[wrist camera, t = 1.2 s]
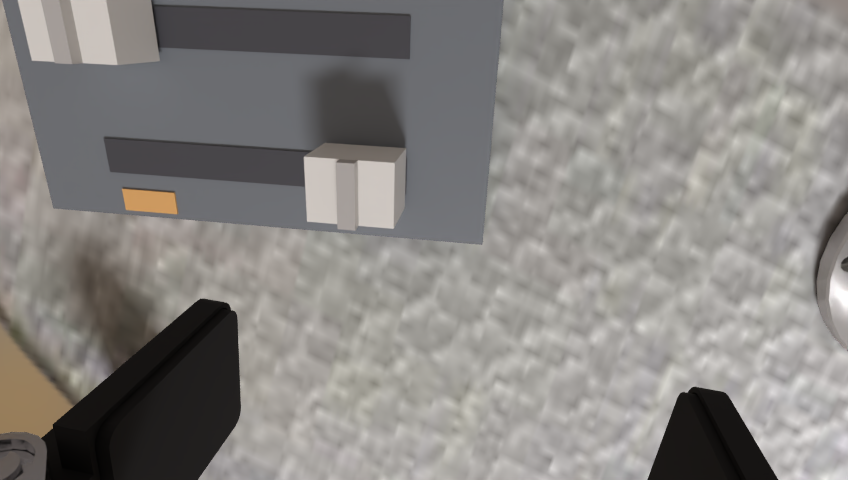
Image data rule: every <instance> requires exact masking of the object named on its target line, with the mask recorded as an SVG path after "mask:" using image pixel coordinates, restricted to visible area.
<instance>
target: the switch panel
mask: <svg viewBox="0 0 848 480" xmlns="http://www.w3.org/2000/svg"><path fill="white" fill-rule="evenodd" d="M2 1H3V5H4V9H5V13H6V17H7V21H8V25H9V29H10V33H11V38H12V42H13V46H14V50H15V54H16V58H17V62H18V66H19V70H20V74H21V78H22V82H23V86H24V90H25V94H26V98H27V102H28V106H29V110H30V115H31V119H32V123H33V127H34V131H35V135H36V139H37V143H38V147H39V151H40V155H41V159H42V163H43V167H44V171H45V175H46V179H47V183H48V188H49V192H50V196H51V200H52V204H53V208H57V209H68V210H80V211H92V212H104V213H116V214H127V215H139V216H151V217H163V218H174V219H186V220H198V221H210V222H222V223H233V224H245V225H257V226H269V227H281V228H292V229H304V230H316V231H328V232H339V233H351V234H363V235H375V236H387V237H398V238H410V239H422V240H434V241H445V242H457V243H469V244H481V245H482V243H483V232H484V220H485V209H486V197H487V186H488V174H489V163H490V151H491V139H492V128H493V116H494V105H495V93H496V82H497V70H498V59H499V47H500V36H501V24H502V13H503V1H504V0H151V4H152V11H153V17H154V24H155V31H156V38H157V44H158V51H159V58H160V61H157V62H146V63H135V64H124V65H106V64H87V63H81V64H60V63H55V62H48V61H32V59H31V55H30V50H29V46H28V42H27V38H26V33H25V29H24V25H23V21H22V17H21V12H20V8H19V4H18V0H2ZM324 143H336V144H351V145H366V146H381V147H397V148H406V177H405V208H404V210H403V212H402V214H401V216H400V218H399V220H398V221H397V223H396V225H395V227H394V229H390V228H378V227H366V226H358V227H357V229H356V230H355V231H353V230H341V229H338V228H337V224H329V223H317V222H307V211H306V192H305V172H304V156H305V155H307V154H309V153H310V152H312V151H313V150H315V149H316V148H318V147H319V146H321V145H322V144H324Z"/></svg>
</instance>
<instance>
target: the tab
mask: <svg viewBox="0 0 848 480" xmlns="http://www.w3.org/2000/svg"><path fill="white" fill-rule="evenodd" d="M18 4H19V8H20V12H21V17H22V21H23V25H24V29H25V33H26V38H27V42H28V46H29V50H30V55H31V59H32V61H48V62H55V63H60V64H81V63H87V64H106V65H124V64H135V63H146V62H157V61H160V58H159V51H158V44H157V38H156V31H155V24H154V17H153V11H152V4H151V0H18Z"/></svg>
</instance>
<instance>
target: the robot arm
mask: <svg viewBox="0 0 848 480" xmlns="http://www.w3.org/2000/svg"><path fill="white" fill-rule="evenodd" d="M817 302H818V306H819V309H820V312H821V315H822V318H823V321H824V323H825V324H826V326H827V328H828V329H829V331H830V332H831V334H832V336H833V337H834V338H835V339H836V340H837V341H838V342H839V343H840V344H841V345H842V346H843V347H844V348H845V349H846V350H847V351H848V213H847V214H846V215H845V216H844V217H843V219H842V220H841V222H840V223H839V225H838V227H837V228H836V230H835V231H834V233H833V234H832V236H831V237H830V239H829V241H828V244H827V246H826V249H825V251H824V253H823V256H822V258H821V261H820V266H819V271H818V277H817ZM240 411H241V401H240V375H239V349H238V323H237V314H236V312H235V311H231V308H230V306H229V304H228V303H225V302H219V301H214V300H208V299H200V300H198V301H197V302H195V303H194V304H193V305H192V306H191V307H190V308H188V309H187V310H186V311H185V312H184V313H183V314H181V315H180V316H179V317H178V318H177V319H176V320H174V321H173V322H172V323H171V324H170V325H169V326H167V327H166V328H165V329H164V330H163V331H162V332H160V333H159V334H158V335H157V336H156V337H155V338H153V339H152V340H151V341H150V342H149V343H147V344H146V345H145V346H144V347H143V348H142V349H140V350H139V351H138V352H137V353H136V354H135V355H133V356H132V357H131V358H130V359H129V360H128V361H126V362H125V363H124V364H123V365H122V366H121V367H119V368H118V369H117V370H116V371H115V372H114V373H112V374H111V375H110V376H109V377H108V378H107V379H105V380H104V381H103V382H102V383H101V384H100V385H98V386H97V387H96V388H95V389H94V390H93V391H91V392H90V393H89V394H88V395H87V396H86V397H84V398H83V399H82V400H81V401H80V402H79V403H77V404H76V405H75V406H74V407H73V408H72V409H70V410H69V411H68V412H67V413H66V414H64V416H62V417H61V418H60V419H59V420H57V422H55V423H54V424H53V429H52V430H50V431H49V432H48V433H47V434H46V435H45V436H44V437H42V438H40V437H39V436H37V435H33V434H30V433H27V432H10V433H5V434H0V480H198V479H199V477H200V476H201V474H202V473H203V471H204V470H205V469H206V467H207V466H208V464H209V463H210V461H211V460H212V459H213V457H214V456H215V454H216V453H217V451H218V450H219V449H220V447H221V446H222V444H223V443H224V441H225V440H226V439H227V437H228V436H229V434H230V433H231V432H232V430H233V429H234V427H235V426H236V424H237V422H238V419H239V416H240ZM648 480H778V479H777V477H776V475H775V474H774V472H773V470H772V469H771V467H770V465H769V464H768V462H767V460H766V459H765V457H764V455H763V454H762V452H761V450H760V448H759V447H758V445H757V443H756V442H755V440H754V438H753V437H752V435H751V433H750V432H749V430H748V428H747V427H746V425H745V423H744V422H743V420H742V418H741V417H740V415H739V413H738V412H737V410H736V408H735V406H734V405H733V403H732V401H731V400H730V398H729V396H728V395H727V394H726V393H724V392H721V391H715V390H710V389H704V388H699V387H692V388H691V389H690V390H689V391H688V393H685V392H682V393H680V395H679V396H678V398H677V401H676V404H675V406H674V409H673V412H672V415H671V417H670V420H669V423H668V425H667V428H666V431H665V434H664V436H663V439H662V442H661V444H660V447H659V450H658V453H657V455H656V458H655V461H654V463H653V466H652V469H651V472H650V474H649V477H648Z"/></svg>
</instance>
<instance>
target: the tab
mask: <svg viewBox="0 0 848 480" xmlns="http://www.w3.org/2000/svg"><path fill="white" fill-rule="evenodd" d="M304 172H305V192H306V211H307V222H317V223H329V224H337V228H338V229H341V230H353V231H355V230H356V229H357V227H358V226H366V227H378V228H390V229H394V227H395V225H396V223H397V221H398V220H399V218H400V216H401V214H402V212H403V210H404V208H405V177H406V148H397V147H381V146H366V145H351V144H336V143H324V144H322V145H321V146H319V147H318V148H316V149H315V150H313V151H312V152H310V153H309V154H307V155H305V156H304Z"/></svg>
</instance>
